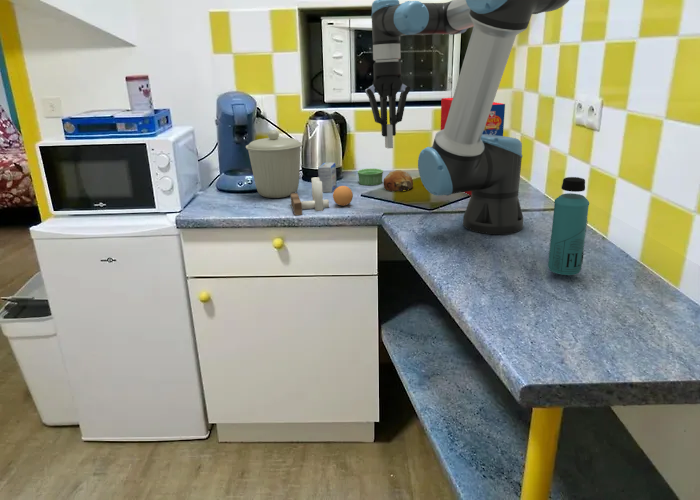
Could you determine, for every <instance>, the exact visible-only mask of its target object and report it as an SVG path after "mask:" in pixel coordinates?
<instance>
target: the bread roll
mask: <svg viewBox="0 0 700 500" xmlns="http://www.w3.org/2000/svg"><path fill="white" fill-rule="evenodd" d="M413 180H414V179H413V178H412V176H411V174H409V173H408V172H406V171H405V170H401V169H398V170H392V171H389V173H388V174H387V175H386V176H385V177H384V178H383V188H384V190H385V189H386V190H385V191H387V190H389V191H388V192H392V191H403V190H407V191H409V190H408V189H410V190H411V189H412V188H413V187H414V181H413ZM403 192H404V191H403Z"/></svg>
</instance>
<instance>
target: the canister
mask: <svg viewBox="0 0 700 500" xmlns="http://www.w3.org/2000/svg"><path fill="white" fill-rule="evenodd" d="M279 136H280V133H279V131H278V130H275V129H271V130H269V131H268V133H267V137H265V138H259V139H255V140H252V141H250V142H249V143H248V144H247V145H245V148H246V150H247V151H248V155H249V157H248V158H249V161H250V165H251V170H252V175H253V180H254V185H255V188H256V191H257V193H258V194H259V195H260V196H261V197H263V198H266V199H267V198H269V199H280V198H287V197H291V193H297V192H298V189H299V185H300V171H301V169H300V168H301V167H300V166H301V148H302V146H303V142H301V141H299V140H298V139H296V138H293V137H283V136H282V137H279Z"/></svg>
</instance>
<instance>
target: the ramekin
mask: <svg viewBox="0 0 700 500" xmlns="http://www.w3.org/2000/svg"><path fill="white" fill-rule="evenodd" d="M383 174H384V170H383V169H381V168H363V169H359V170H358V171H357V175H358V183H359V184H360V185H361V186H369V187H371V186H378V185H381V184H382V183H383Z"/></svg>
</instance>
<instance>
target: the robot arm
mask: <svg viewBox="0 0 700 500" xmlns="http://www.w3.org/2000/svg"><path fill="white" fill-rule="evenodd" d="M569 2H570V0H451V1H447V2H421V1H420V0H407V1H404V2H402V3H400V0H374V1H373V2H372V3H371V15H370V18H371V31H372V32H371V33H372V35H371V36H372V60H373V61H375V62H374V63H373V65H372V66H373V81H372V85H370V86H368V88H366V89H364V93H365V94H366V96H367V97H368V100H369V103H370V108H371V111H372V112H371V113H372V116H373V120H374V122H375V123H377V124H380V125H381V136H382V137H384V147H385V148H386V149H394V139H393V138H394V137H395V136H396V133H397V129H396V128H397V127H396V125H397V124H398V123H400V122H402V121H403V116H404V112H405V107H406V101H407V98H408V94H409V93H410V90H411V87H410V86H407V85H406V84H404V83H403V80H402V77H401V76H402V70H401V69H402V67H401V66H402V63H401V62H400V61H399V60H401V55H402V54H401V53H402V52H401V37H403V36H426V35H427V36H428V35H450V36H451V35H454V36H455V35H458V34H459V35H461V34H464V33H465V32H467V30H468V29H469V28H470V29H471V28H472V32H471V35H470V36H469V37H470V38H469V41H468V45H467V49H466V52H465V56H464V59H463V61H462V66H461V68H460V72H459V76H458V80H457V82H456V87H455V89H454V92H453V93H454V94H453V96H452V98H453V100H452V103H451V107H450V110H449V114H448V117H447V121H446V124H445V128H444V129H443V130H441V129H440V130H439V131H437V133H435V136H434V138H433V139H434V140H433V143H432V146H427V147H425V148H423V149H422V150H421V151H420V153H419V155H418V159H417V169H418V174H419V177H420V181H421V183H422V185H423V186H424V187H423V188H425V189H426V190H427V191H428V193H430V194H431V195H433V196H437V197H438V196H451V195H456V194H459V193H463V192H467V191H471V196H470V197H469V201H468V203H467V206H466V208H465V211H464V214H463V216H462V217H463V219H462V225H463V226H464V228H466V229H468V230H469V231H472V232H474V233H475V232H476V233H480V234H487V235H506V234H508V235H509V234H514V233H517V232H519V231H521V230H523V228H524V215H523V212H522V208H521V207H522V206H521V203H520V200H519V193H520V192H519V191H520V181H521V179H520V178H521V170H522V169H521V168H522V159H523V154H522V152H523V150H522V149H523V143H522V142H521V140H520V139H518V138H516V137H510V136H504V135H503V136H497V135H485V134H482V133H483V131H484V128H485V125H486V122H487V119H488V116H489V113H490V110H491V107H492V104H493V102H494V101H495V99H496V96H497V92H498V90H499V87H500V83H501V81H502V78H503V75H504V72H505V69H506V66H507V64H508V60H509V57H510V55H511V52H512V49H513V46H514V44H515V40H516V37H517V36H518V35H520V34H521V33H523V32H524V31H526V30H527V29H528V26H529V24H530V21H531V17H532V16H533V15H537V14H542V13H548V12H553V11H557V10H559V9H561V8H563V7H564V6H566V4H568V3H569ZM399 90H400V91H399ZM375 91H376V93H377V94H378V95H379V104H380V105H379V106H380V107H378V102H377V99H376V96H375V94H376V93H375ZM398 92H400V94H399V99H398V102H397V104H398V105H396V101H397V94H398ZM396 107H397V108H396ZM379 108H380V111H379ZM388 113H389V114H388ZM388 115H389V117H388ZM388 119H389V123H388Z"/></svg>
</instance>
